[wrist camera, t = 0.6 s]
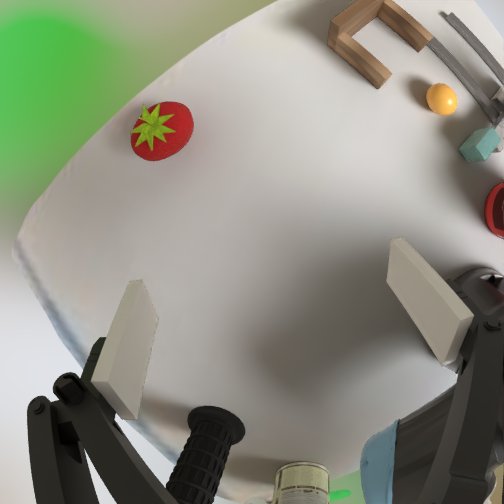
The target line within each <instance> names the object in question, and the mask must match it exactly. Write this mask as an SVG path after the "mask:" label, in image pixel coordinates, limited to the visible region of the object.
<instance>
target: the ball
mask: <svg viewBox="0 0 504 504" xmlns="http://www.w3.org/2000/svg"><path fill="white" fill-rule="evenodd" d="M426 99H427V103H428V105H429V107H430V108H431V110H432V111H434V112H435V113H437V114H439V115H443V116H446V115H450V114H452V113H453V112H454V111H455V109H456V107H457V97H456V94H455V92H454V91H453V90H452V89H451V88H450V87H449V86H447V85H445V84H441V83H438V84H434V85H432V86H431V87H430V88H429V89H428V91H427V95H426Z"/></svg>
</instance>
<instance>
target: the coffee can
mask: <svg viewBox="0 0 504 504" xmlns="http://www.w3.org/2000/svg"><path fill="white" fill-rule="evenodd" d="M272 504H329V471H328V469H327V468H326V467H324V466H322V465H320V464H317V463H313V462H295V463H290V464H287V465H285V466H283V467H281V468H280V469H279V470H278V471H277V473H276V481H275V487H274V494H273V500H272Z"/></svg>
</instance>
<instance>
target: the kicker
mask: <svg viewBox="0 0 504 504" xmlns="http://www.w3.org/2000/svg"><path fill="white" fill-rule="evenodd" d="M490 101H491V102H492V103H493V105H494V106H495V107H496V109H497V110H498V112H499V113H500V116H499V117H498V118H497V120H496V121H495V122H494V123H493V125H492V126H491V127H488V128H483V129H479V130H475V131H474V132H473V133H472V134H471V135H470V137H469V138H468V139H467V140H466V141H465V142H464V144H463V145H462V146H461V147H460V148H459V150H460V152H461V153H462V154H463V156H464V157H465V158H466V160H467V161H468V162H469V161H485V160H486V159H487V158H488V157H489V155H490V154H491V153H497V152H501V150H502V149H503V148H504V85H503V86H501V88H500V89H499V90H498V91H497V93H496V94H495V95H494V96H493V97H492V99H491V100H490Z"/></svg>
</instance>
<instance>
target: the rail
mask: <svg viewBox="0 0 504 504" xmlns="http://www.w3.org/2000/svg"><path fill="white" fill-rule="evenodd" d="M445 19H446V20H447V21H448V22H449V23H450V24H451V25H452V26H453V27H454V28H455V29H456V30H457V31H458V32H459V33H460V34H461V35H462V36H463V37H464V38H465V39H466V40H467V41H468V43H469V44H470V45H471V46H472V47H473V48H474V49H475V50H476V51H477V53H478V54H479V55H480V56H481V57H482V58H483V60H484V61H485V62H486V63H487V64H488V66H489V67H490V68H491V69H492V70H493V72H494V73H495V74H496V76H497V77H498V78H499V79H500V81H501V82H502V83H503V85H504V69H503V68H502V67H501V66H500V64H499V63H498V62H497V61H496V59H495V58H494V57H493V56H492V54H491V53H490V52H489V51H488V50H487V49H486V47H485V46H484V45H483V44H482V43H481V42H480V41H479V39H478V38H477V37H476V36H475V35H474V34H473V33H472V32H471V31H470V30H469V29H468V28H467V27H466V26H465V25H464V24H463V23H462V22H461V21H460V20H459V19H458V18H457V17H456V16H455V15H454V14H453V13H450V14H449V15H448V16H447V17H446V18H445ZM427 45H428V46H429V47H430V48H431V49H432V50H433V51H434V52H435V53H436V54H437V55H438V56H439V57H440V58H441V59H442V60H443V62H444V63H445V64H446V65H447V66H448V67H449V68H450V69H451V70H452V71H453V72H454V74H455V75H456V76H457V77H458V78H459V79H460V80H461V82H462V83H463V84H464V85H465V86H466V88H467V89H468V90H469V91H470V92H471V94H472V95H473V96H474V98H475V99H476V100H477V101H478V103H479V104H480V105H481V107H482V108H483V109H484V111H485V112H486V113H487V115H488V116H489V117H490V119H491V120H492V122H493V123H494V122H495V121H496V120H497V118H498V117H499V116H500V114H499V112H498V111H497V110H496V108H495V107H494V105H493V104H492V103H491V101H490V100H489V99H488V97H487V96H486V95H485V93H484V92H483V91H482V90H481V88H480V87H479V86H478V84H477V83H476V82H475V81H474V80H473V78H472V77H471V76H470V75H469V74H468V72H467V71H466V70H465V69H464V68H463V67H462V66H461V64H460V63H459V62H458V61H457V60H456V59H455V58H454V57H453V56H452V55H451V54H450V52H449V51H448V50H447V49H446V48H445V47H444V46H443V45H442V44H441V43H440V42H439V41H438V40H437V39H436V38H435V37H433V38H432V39H431V40H430V41H429V42H428V43H427Z"/></svg>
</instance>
